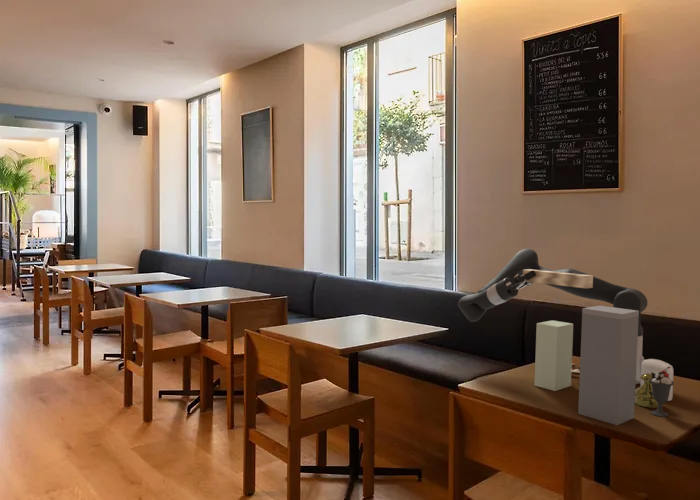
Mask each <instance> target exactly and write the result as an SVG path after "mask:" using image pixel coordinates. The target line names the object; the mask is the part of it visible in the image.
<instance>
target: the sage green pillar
mask: <svg viewBox="0 0 700 500" xmlns="http://www.w3.org/2000/svg"><path fill="white" fill-rule="evenodd" d="M535 336H536V337H535V362H534V386H535V387H540V388H541V389H542V388H543V389H546V390H551V391H553V392H556V391H559V390H562V389H566V388H568V387H571V385H572V377H571V370H572V364H573V343H574V340H573V339H574V323H571V322H565V321H559V320H554V319H553V320H547V321H542V322H536V333H535Z"/></svg>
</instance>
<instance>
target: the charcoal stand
mask: <svg viewBox="0 0 700 500" xmlns="http://www.w3.org/2000/svg"><path fill="white" fill-rule="evenodd" d="M581 309H582V311H581V312H582V313H581V335H580V336H581V337H580V339H581V340H580V357H579V359H580V360H579V365H580V378H579V383H578V386H579V388H578V391H579V392H578V406H577V407H578V411H577V414H579V415H580V416H584V417H588V418H592V419H595V420H597V421H598V420H599V421H601V422H605V423H608V424H612V425H615V426H619V425H621V424H623V423H626V422H629V421H631V420H633V419H635V404H636V403H635V396H636V392H635V390H636V385H637V384H636V363H637V341H638V319H639V311H637V310H629V309H622V308H615V307H613V306H605V305H595V306H589V307H583V308H581Z"/></svg>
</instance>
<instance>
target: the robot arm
mask: <svg viewBox="0 0 700 500" xmlns="http://www.w3.org/2000/svg"><path fill="white" fill-rule="evenodd" d="M526 269H532V271H530V272H528V273H526V274H523V270H526ZM534 270H542V271H552V272H563V273H573V274H583V275H590V274H589V273H586V272H583V271H579V270H577V269H573V268H563V269H556V270H553V269H548V268H545V267H543V266H541V265H539V256H538V254H537V252H536V251H535V250H534V249H531V248H524V249H521V250H519V251H518V252H516V254H515V255H514V256H513V257H512V258H511V259H510V260H509V262H508V263H507V264H506V265H505V266H504V267H503V268H502V269H501V270H500V271H499V272H498V273H497V275H495V276H494V277H493V278H492V279H491V280H490V281H488V283H486V284H485V285H484V286H482V287H481V288H480V289H479V290H478V291H477V293H473V294H467V295H464V296H462V297H460V299H459V301H458V304H457V306H458V308H459V309H460V311H461V313H463V315H464V316H465V317H466V320H468V321H469V322H471V323H476V322H478V321H479V320H480V319H481V318H482V317H483V316H484V314H486V312H487V310H490V309H493V308H494V307H497V306H498V305H501V304H503V303H506V302H508V301H509V300H511V299H513V298H515V297H517V296H518V294H519V290H521V289H524V288H525V287H526V286H527V287H528V286H529V287H530V286H531V285H532V284H534V283H535V282H527V280H529V279H531V278H533V277H535V276H536V273H535V271H534ZM542 284H544V283H542ZM544 285H547V286H550V287H551V288H555V289H558V290H561V291H564V292H566V293H568V294H570V295H574V296H577V297H581V298H583V299H584V298H585V299H589V300H594V301H595V300H597V301H600V302H601V301H602V302H605V303H608V304H610V305H612V307H615V308H622V309H629V310H637V311H639V319H638V341H637V363H636V385H638V384H641V378H640V376H641V364H642V362H643V360H645V358H644V356H643V339H644V337H643V335H644V328H643V326H642V325H641V313H642V312H643V311H645V310H646V309H647V307H648V298H647V297H646V295H645V294H644V293H643V292H642V291H640V290H639V289H635V288H630V287H628V286H627V287H625V286H622V285H618V284H614V283H611V282H608V281H606V280H603V279H601V278H599V277H596V276H594V275H593V288H578V287H570V286H561V285H553V284H544Z"/></svg>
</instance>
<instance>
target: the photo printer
mask: <svg viewBox="0 0 700 500" xmlns="http://www.w3.org/2000/svg"><path fill="white" fill-rule="evenodd" d="M668 366H669V367H670V368H669V369H668ZM666 368H667V369H668V370H667V369H666ZM665 369H666V370H667V374H669V376H668V377H669V378H670V379H671V381H673V382H674V367H673V365H671V364H670V363H668V362H666V361H663V360H660V359H656V358H648V359H644V360H643V362H642V364H641V375H643V374H646V373H654V374H656V373H658V372H662V370H665ZM666 370H665V371H666ZM643 384H644V381H643V380H642V379H641V383H640V386H641V385H643ZM673 393H674V384H673V385H672V386H671V388H670V393H669V397H668V400H667V401H666V402H671V401H672V400H673V395H674V394H673Z"/></svg>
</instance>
